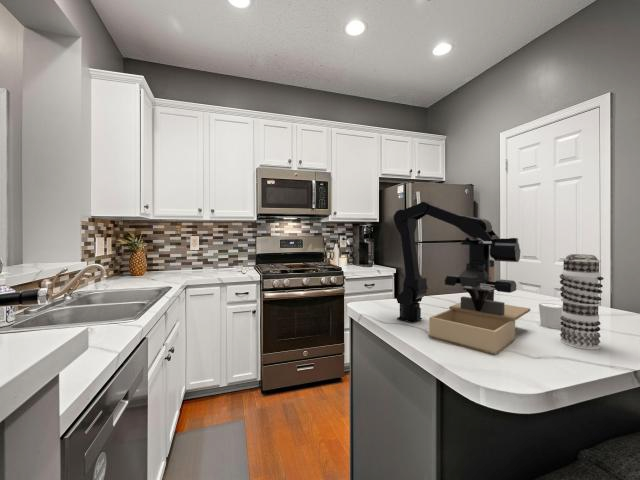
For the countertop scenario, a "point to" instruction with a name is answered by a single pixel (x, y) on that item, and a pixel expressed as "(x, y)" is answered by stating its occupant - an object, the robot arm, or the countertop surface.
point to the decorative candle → (580, 301)
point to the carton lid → (491, 309)
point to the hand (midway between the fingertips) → (478, 311)
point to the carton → (472, 330)
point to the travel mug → (491, 274)
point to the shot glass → (550, 315)
